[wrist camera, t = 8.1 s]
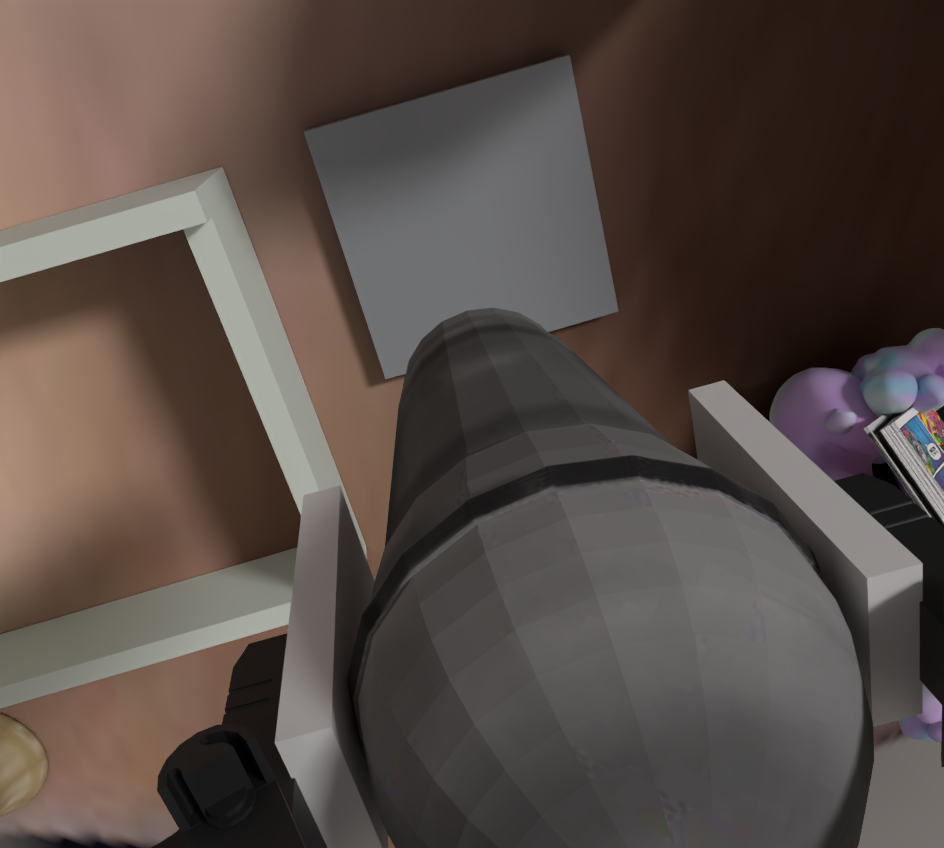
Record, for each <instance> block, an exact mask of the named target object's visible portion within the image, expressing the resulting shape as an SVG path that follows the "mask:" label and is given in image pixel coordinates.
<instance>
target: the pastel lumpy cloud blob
mask: <svg viewBox="0 0 944 848" xmlns="http://www.w3.org/2000/svg"><path fill="white" fill-rule="evenodd" d="M769 419H770V423H771V424H772V425H773V426H774V427H775V428H776V429H778V430H779V431H780V432H781V433H782V434H783V435H784V436H785V437H786V438H787V439H788V440H789V441H791V442H792V443H793V444H794V445H795V446H796V447H797V448H798V449H799V450H800V451H801V452H803V453H804V454H805V455H806V456H807V457H808V458H809V459H810V460H811V461H812V462H813V463H814V464H816V465H817V466H818V467H819V468H820V469H821V470H822V471H823V472H824V473H825V474H826V475H827V476H829V477H830V478H831V479H832V480H833V481H835V480H839V479H842V478H846V477H850V476H853V475H857V474H860V473H865V474H868V475H870V476H873V472H872V463H874V464H882V463H884V462H887V463H888V465H889V466H890V468H891V472H892V474H893V476H894V478H895V480H896V482H897V484H898V486H899V488H900V491H901V492H902V493H903V494H905V495H906V496H907V497H908V498H910V499H911V500H912V503H913V504H915V503H916V504H917V505H918V506H919V507H920V508H922V509H923V510H924V511H925V512H926V513H928V516H929V518H930V517H932V518H934V519H935V520H936V521H937V522H939V523H940V524H941V525H942V526H943V527H944V329H941V328H930V329H926V330H923V331H921V332H920V333H918V334H917V335H916V336H915V337H914V338H913V339H912V340H911V342H910V343H909V344H907V345H905V346H894V347H885V348H881V349H880V350H878V351H877V352H875V353H873V354H868V355H864V356H863V357H861V358H860V359H858V361H857V363H856V364H855V366H854V368H853V369H852V371H851V373H850V372H847V371H844V370H840V369H833V368H809V369H806V370H804V371H802V372H799V373H797V374H794V375H793V376H792V377H791V378H789V379H788V380H787V381H786V382H785V383H784V384H783V385H782V386H781V387H780V389H779V390H778V392H777V394H776V395H775V397H774V400H773V402H772V405H771V409H770V414H769ZM873 477H874V476H873ZM899 724H900V727H901V729H902V731H903V733H904V735H905V736H907V737H909V738H912V739H919V740H926V741H931V740H934V741H936V742H940V743H941V742H942V705H941V703H940V702H939V701H938V700H937V699H936V698H935V697H934V695H933V694H932V693H931V692H930V691H929V690H928V689H927V687H926V686H925V685H924V684H923V713H922V714H918V715H915V716H911V717H908V718H904V719H900V720H899Z"/></svg>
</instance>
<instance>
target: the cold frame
mask: <svg viewBox="0 0 944 848" xmlns="http://www.w3.org/2000/svg"><path fill="white" fill-rule="evenodd" d="M182 229H183V230H184V233H185V235H186V238H187V240H188V243H189V245H190V247H191V250H192V252H193V255H194V257H195V260H196V262H197V264H198V267H199V269H200V272H201V274H202V277H203V279H204V281H205V284H206V286H207V289H208V291H209V294H210V296H211V298H212V301H213V303H214V306H215V308H216V311H217V313H218V315H219V318H220V320H221V323H222V325H223V328H224V330H225V332H226V335H227V337H228V340H229V342H230V345H231V347H232V349H233V352H234V354H235V357H236V359H237V362H238V364H239V366H240V369H241V371H242V374H243V376H244V379H245V381H246V383H247V386H248V388H249V391H250V393H251V396H252V398H253V400H254V403H255V405H256V408H257V410H258V413H259V415H260V417H261V420H262V422H263V425H264V427H265V430H266V432H267V434H268V437H269V439H270V442H271V444H272V447H273V449H274V451H275V454H276V456H277V459H278V461H279V464H280V466H281V468H282V471H283V473H284V476H285V478H286V481H287V483H288V485H289V488H290V490H291V493H292V495H293V498H294V500H295V502H296V505H297V507H298V510H299V512H300V515H301V513H302V504H303V496H304V495H306V494H310V493H313V492H317V491H321V490H324V489H328V488H332V487H335V486H339V485H340V487H341V489H342V492H343V495H344V498H345V501H346V503H347V506H348V509H349V512H350V515H351V517H352V520H353V523H354V526H355V529H356V531H357V534H358V537H359V540H360V543H361V545H362V548H363V551H364V554H365V557H366V545H365V542H364V539H363V537H362V534H361V531H360V529H359V526H358V523H357V521H356V518H355V516H354V513H353V510H352V508H351V505H350V502H349V500H348V497H347V494H346V492H345V489H344V486H343V484H342V481H341V479H340V476H339V473H338V471H337V468H336V465H335V463H334V460H333V457H332V455H331V452H330V449H329V447H328V444H327V442H326V439H325V436H324V434H323V431H322V428H321V426H320V423H319V420H318V418H317V415H316V412H315V410H314V407H313V405H312V402H311V399H310V397H309V394H308V391H307V389H306V386H305V383H304V381H303V378H302V375H301V373H300V370H299V368H298V365H297V362H296V360H295V357H294V354H293V352H292V349H291V346H290V344H289V341H288V338H287V336H286V333H285V331H284V328H283V325H282V323H281V320H280V317H279V315H278V312H277V309H276V307H275V304H274V302H273V299H272V296H271V294H270V291H269V288H268V286H267V283H266V280H265V278H264V275H263V272H262V270H261V267H260V265H259V262H258V259H257V257H256V254H255V251H254V249H253V246H252V243H251V241H250V238H249V235H248V233H247V230H246V228H245V225H244V222H243V220H242V217H241V214H240V212H239V209H238V206H237V204H236V201H235V198H234V196H233V193H232V191H231V188H230V185H229V183H228V180H227V177H226V175H225V172H224V169H223V167H219V168H215V169H212V170H208V171H205V172H201V173H198V174H194V175H191V176H188V177H184V178H181V179H177V180H174V181H170V182H167V183H163V184H160V185H156V186H153V187H150V188H146V189H143V190H139V191H136V192H132V193H129V194H125V195H122V196H118V197H115V198H112V199H108V200H105V201H101V202H98V203H94V204H91V205H87V206H84V207H81V208H77V209H74V210H70V211H67V212H63V213H60V214H56V215H53V216H49V217H46V218H43V219H39V220H36V221H32V222H29V223H25V224H22V225H18V226H15V227H12V228H8V229H5V230H1V231H0V282H3V281H6V280H10V279H13V278H17V277H20V276H24V275H27V274H30V273H34V272H37V271H41V270H44V269H48V268H51V267H55V266H58V265H61V264H65V263H68V262H72V261H75V260H79V259H82V258H86V257H89V256H92V255H96V254H99V253H103V252H106V251H110V250H113V249H117V248H120V247H124V246H127V245H130V244H134V243H137V242H141V241H144V240H148V239H151V238H155V237H158V236H161V235H165V234H168V233H172V232H175V231H179V230H182ZM296 556H297V547H296V548H293V549H290V550H286V551H283V552H279V553H276V554H273V555H269V556H266V557H262V558H259V559H255V560H252V561H249V562H245V563H242V564H238V565H235V566H232V567H228V568H225V569H221V570H218V571H215V572H211V573H208V574H204V575H201V576H197V577H194V578H191V579H187V580H184V581H180V582H177V583H174V584H170V585H167V586H163V587H160V588H157V589H153V590H150V591H146V592H143V593H139V594H136V595H133V596H129V597H126V598H122V599H119V600H116V601H112V602H109V603H105V604H102V605H99V606H95V607H92V608H88V609H85V610H81V611H78V612H75V613H71V614H68V615H64V616H61V617H58V618H54V619H51V620H47V621H44V622H41V623H37V624H34V625H30V626H27V627H23V628H20V629H17V630H13V631H10V632H6V633H3V634H0V709H1V708H4V707H8V706H11V705H15V704H18V703H21V702H25V701H28V700H32V699H35V698H38V697H42V696H45V695H49V694H52V693H55V692H59V691H62V690H66V689H69V688H72V687H76V686H79V685H83V684H86V683H89V682H93V681H96V680H100V679H103V678H106V677H110V676H113V675H117V674H120V673H124V672H127V671H130V670H134V669H137V668H141V667H144V666H147V665H151V664H154V663H158V662H161V661H164V660H168V659H171V658H175V657H178V656H181V655H185V654H188V653H192V652H195V651H198V650H202V649H205V648H209V647H212V646H215V645H219V644H222V643H226V642H229V641H232V640H236V639H239V638H243V637H246V636H249V635H253V634H256V633H260V632H263V631H266V630H270V629H273V628H277V627H280V626H284V625H287V624H289V616H290V607H291V598H292V590H293V581H294V573H295V564H296ZM366 559H367V557H366Z"/></svg>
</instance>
